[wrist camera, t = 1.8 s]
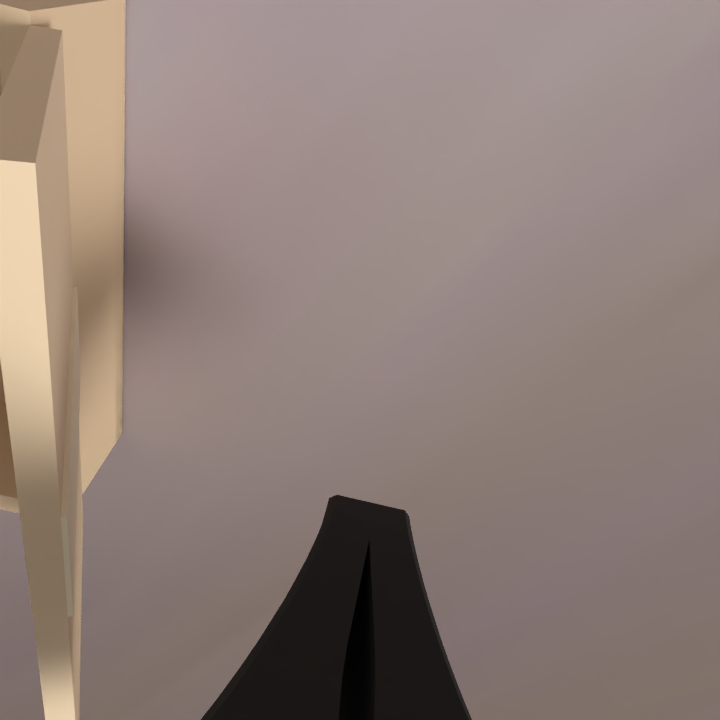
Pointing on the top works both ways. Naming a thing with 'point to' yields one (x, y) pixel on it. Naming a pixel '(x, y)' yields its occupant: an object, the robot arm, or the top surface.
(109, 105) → the carton
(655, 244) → the top surface
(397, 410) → the top surface
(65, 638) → the lid
